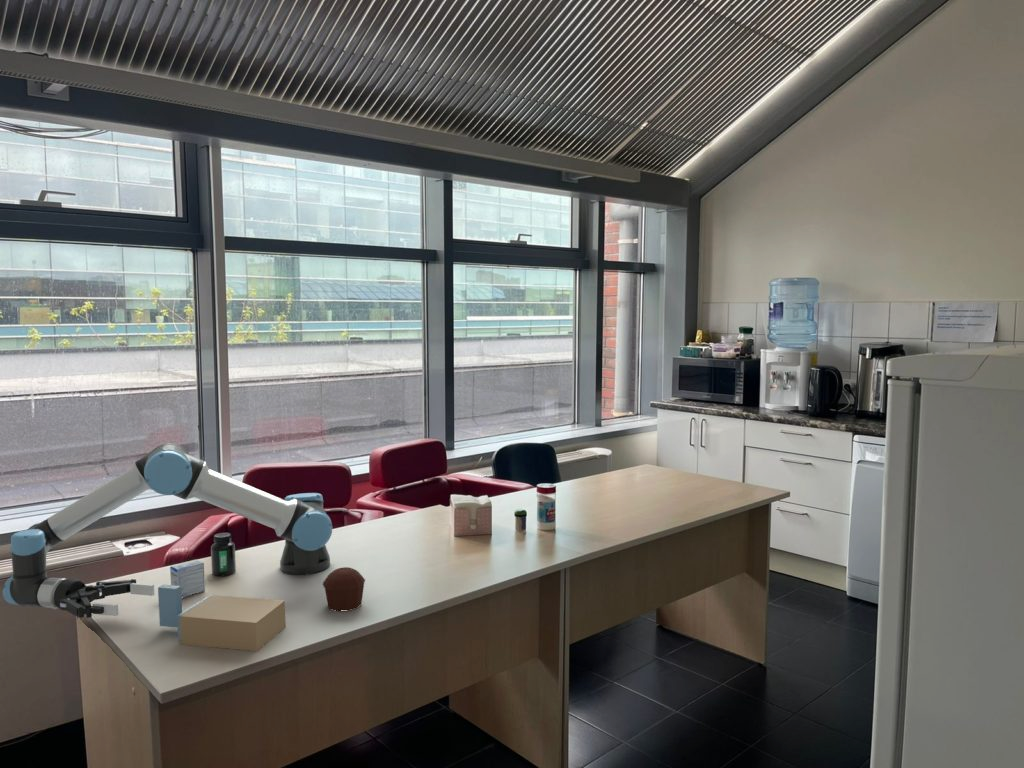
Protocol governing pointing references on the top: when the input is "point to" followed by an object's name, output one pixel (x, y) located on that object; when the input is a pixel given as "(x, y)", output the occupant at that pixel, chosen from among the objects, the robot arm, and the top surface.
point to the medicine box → (188, 577)
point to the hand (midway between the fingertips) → (135, 599)
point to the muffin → (344, 589)
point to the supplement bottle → (223, 555)
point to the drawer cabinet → (233, 622)
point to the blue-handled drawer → (172, 606)
